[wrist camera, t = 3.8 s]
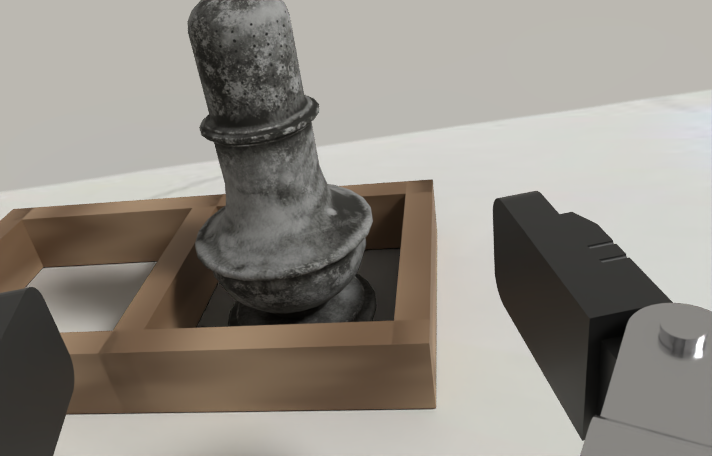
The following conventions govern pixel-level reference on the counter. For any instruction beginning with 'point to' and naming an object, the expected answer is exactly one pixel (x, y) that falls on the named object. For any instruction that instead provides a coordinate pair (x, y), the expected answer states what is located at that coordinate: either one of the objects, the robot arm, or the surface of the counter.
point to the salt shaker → (273, 177)
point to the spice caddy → (237, 343)
